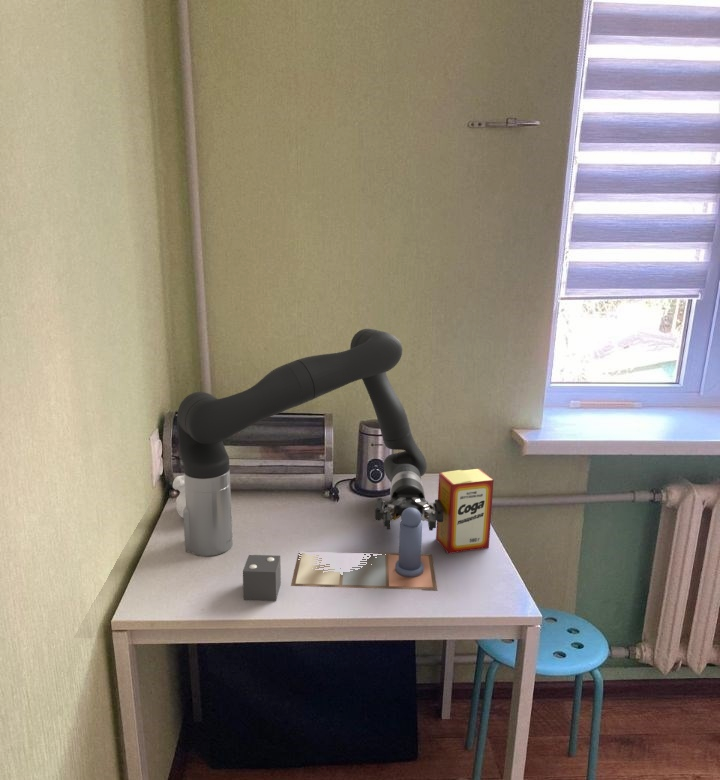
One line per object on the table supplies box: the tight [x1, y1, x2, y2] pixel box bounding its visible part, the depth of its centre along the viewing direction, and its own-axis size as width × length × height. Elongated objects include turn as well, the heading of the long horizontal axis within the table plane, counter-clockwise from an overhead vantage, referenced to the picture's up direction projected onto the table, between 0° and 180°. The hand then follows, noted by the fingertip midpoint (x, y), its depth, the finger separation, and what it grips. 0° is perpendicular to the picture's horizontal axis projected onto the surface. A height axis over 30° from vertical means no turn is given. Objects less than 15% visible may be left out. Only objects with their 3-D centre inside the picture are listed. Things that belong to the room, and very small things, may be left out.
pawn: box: [395, 507, 424, 578], centre depth 132 cm, size 6×6×14 cm
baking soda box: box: [435, 468, 495, 554], centre depth 143 cm, size 10×6×16 cm
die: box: [242, 554, 282, 602], centre depth 124 cm, size 6×6×6 cm
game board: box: [290, 552, 438, 591], centre depth 133 cm, size 28×14×1 cm, turn 89°
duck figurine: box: [172, 474, 186, 519], centre depth 154 cm, size 12×8×11 cm
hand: (410, 525), depth 134 cm, fingers open, 8 cm apart
